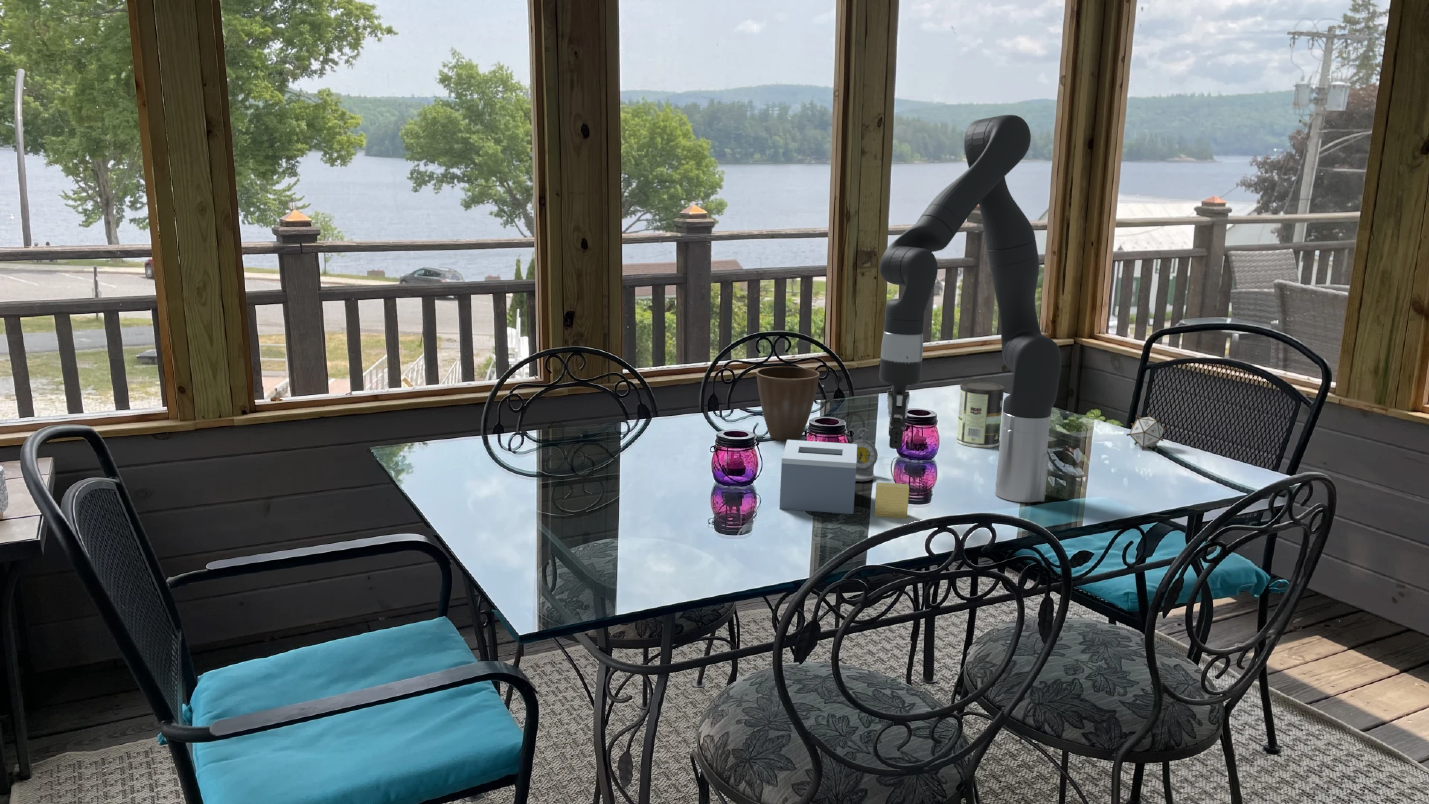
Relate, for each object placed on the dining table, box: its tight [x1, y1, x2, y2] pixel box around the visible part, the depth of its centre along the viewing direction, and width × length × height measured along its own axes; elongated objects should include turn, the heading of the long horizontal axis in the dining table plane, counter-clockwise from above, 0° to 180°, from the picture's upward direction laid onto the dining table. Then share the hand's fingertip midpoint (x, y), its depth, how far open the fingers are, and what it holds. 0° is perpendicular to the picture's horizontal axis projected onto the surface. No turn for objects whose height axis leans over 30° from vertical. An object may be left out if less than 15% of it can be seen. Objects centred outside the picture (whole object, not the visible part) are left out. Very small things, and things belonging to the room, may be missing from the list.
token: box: [874, 481, 910, 520], centre depth 199 cm, size 6×2×6 cm, turn 82°
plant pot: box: [755, 366, 820, 442], centre depth 252 cm, size 15×15×16 cm
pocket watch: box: [850, 427, 878, 482], centre depth 223 cm, size 8×8×10 cm
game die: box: [1125, 413, 1168, 451], centre depth 254 cm, size 9×8×10 cm
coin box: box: [779, 439, 858, 515], centre depth 206 cm, size 14×14×10 cm
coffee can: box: [955, 380, 1005, 449], centre depth 253 cm, size 10×10×14 cm
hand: (894, 442), depth 197 cm, fingers open, 8 cm apart
